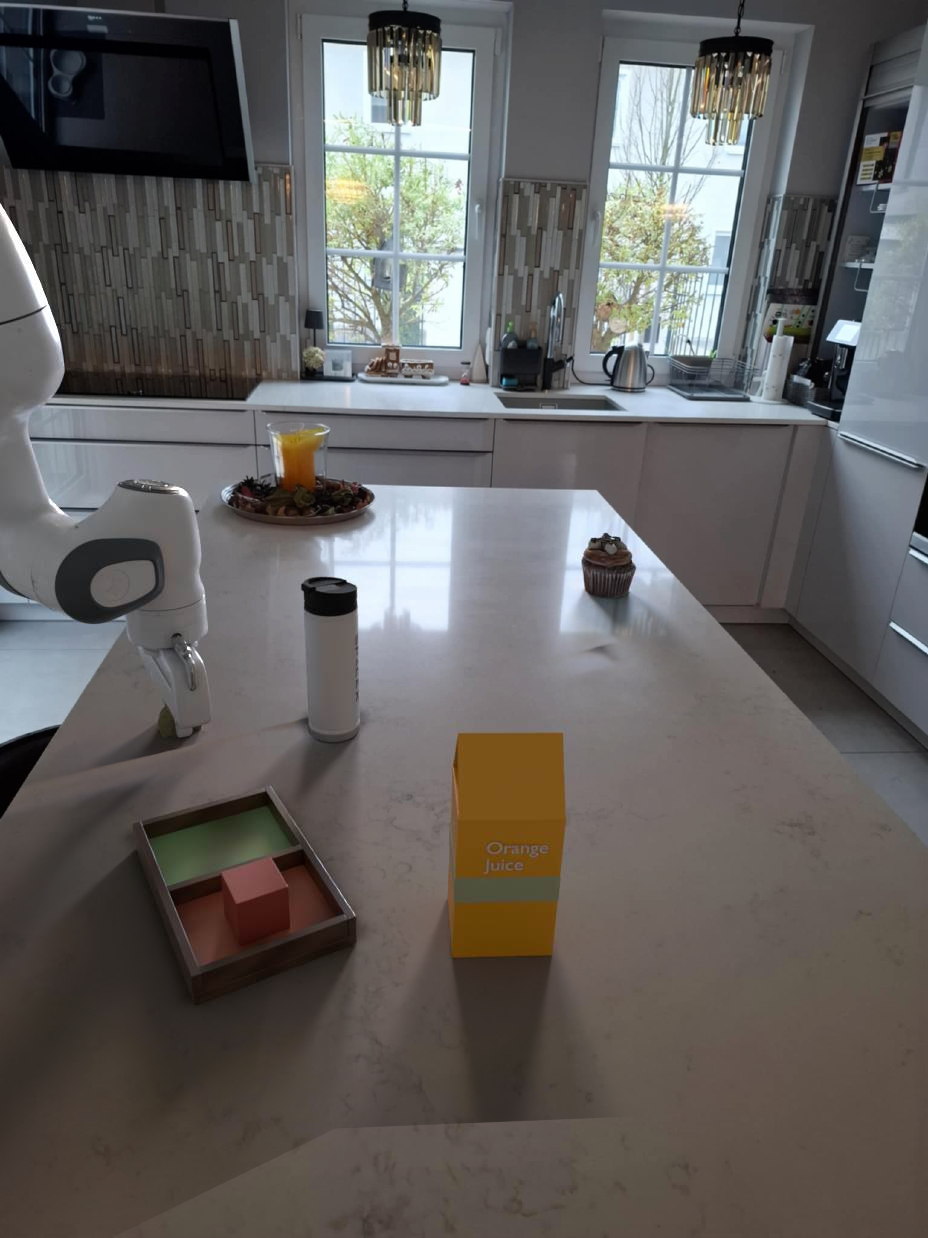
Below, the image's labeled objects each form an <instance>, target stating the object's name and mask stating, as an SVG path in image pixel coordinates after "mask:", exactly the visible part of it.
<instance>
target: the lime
mask: <svg viewBox="0 0 928 1238" xmlns="http://www.w3.org/2000/svg"><path fill="white" fill-rule="evenodd" d="M173 720H174V717H173V715H172V713H171V711H170V710H169V708H168V706H167V705H166V706H165V707H164V706H163V708H161V709H160V712H159V715H158V719H157V727H158V731H159V733H160V734H161V736H162V737H163V738H169V737H171V736H175V735H177V734H176V732H175V730H174V723H173ZM202 726H203V725H200V726H196V727H192V731H193V732H194V731H199V730H201V729H202Z"/></svg>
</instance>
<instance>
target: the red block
mask: <svg viewBox="0 0 928 1238" xmlns="http://www.w3.org/2000/svg"><path fill="white" fill-rule="evenodd" d="M221 883H222V894H223V904H224V913H225V915H226V918H227V920H228V922H229V924H230V926H231V928H232V930H233V933H234V935H235V937H236V939H237V941H238V943H239V945H240V946H241V945H244V944H247V943H249V942H252V941H255V940H258V939H260V938H263V937H266V936H269V935H272V934H274V933H277V932H280V931H283V930H286V929H288V928H290V911H289V893H288V886H287V884H286V882H285V881H284V879H283V877H282V876H281V874H280V872H279V870H278V869H277V867H276V865H275V863H274V862H273V860H272V858H271V857H268V858H265V859H262V860H259V861H256V862H252V863H249V864H246V865H243V866H240V867H237V868H233V869H230V870H227V871H224V872H221Z"/></svg>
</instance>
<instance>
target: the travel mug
mask: <svg viewBox="0 0 928 1238" xmlns="http://www.w3.org/2000/svg"><path fill="white" fill-rule="evenodd" d="M300 590H301V591H302V592H303V624H304V625H303V626H304V646H305V647H304V648H305V669H306V672H305V673H306V693H307V694H306V695H307V718H308V732H309V734H310V735H311V737H313V738H314V739H315V740H318V741H320V742H325V743H340V742H341V743H342V742H346V741H348V740H350V739H352V738H355V736H357V734H358V733H359V731H360V728H361V724H360V723H361V722H360V721H361V720H360V717H361V715H360V660H359V659H360V652H359V650H360V649H359V647H360V646H359V605H358V587H357V585H356V584H353V583H351V582H348V581H347V579H344V578H342V577H334V576H314V577H309V578H306V579H305V580H303V582H302V583H301V584H300Z"/></svg>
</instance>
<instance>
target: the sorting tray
mask: <svg viewBox="0 0 928 1238" xmlns="http://www.w3.org/2000/svg"><path fill="white" fill-rule="evenodd" d="M132 830H133V840H134V845H135V850H136V852H137V855H138V858H139V860H140V863H141V866H142V868H143V873H144V875H145V877H146V879H147V883H148V885H149V889H150V890H151V892H152V896H153V898H154V900H155V903H156V906H157V909H158V911H159V914H160V917H161V919H162V922H163V925H164V928H165V930H166V933H167V935H168V938H169V941H170V943H171V946H172V949H173V951H174V954H175V957H176V959H177V962H178V965H179V967H180V970H181V973H182V976H183V979H184V981H185V983H186V987H187V988H188V992H189V994H190V997H191V1000H192V1002H193V1005H194V1006H196V1005H199V1004H202V1003H204V1002H207V1001H209V1000H212V999H214V998H217V997H220V996H222V995H225V994H228V993H230V992H233V991H235V990H238V989H241V988H244V987H245V986H248V985H251V984H254V983H257V982H259V981H262V980H265V979H267V978H269V977H272V976H275V975H277V974H280V973H282V972H285V971H288V970H290V969H292V968H295V967H298V966H301V965H304V964H307V963H308V962H311V961H313V960H316V959H319V958H321V957H324V956H326V955H329V954H332V953H335V952H337V951H340V950H342V949H345V948H347V947H350V946H352V945H353V946H354V945H356V944H357V941H358V940H357V916H356V914H355V912H354V911H353V909H352V908H351V906H350V905H349V904H348V901H346V899H345V897H344V895H343V893H341V891H340V889H339V888H338V887H337V885H336V883H335V882H334V880H333V879H332V877H331V876H330V874H329V873H328V871H327V870H326V868H325V867H324V865H323V863H322V862H321V860H320V859H319V857H318V856H317V855H316V853H315V851H314V850H313V848H312V847H311V845H310V844H309V842H308V840H307V839H306V838H305V836H304V834H303V833H302V831H301V830H300V828H299V827H298V826H297V824H296V822H295V820H294V819H293V817H292V816H291V814H290V813H289V811H288V810H287V808H286V807H285V805H284V804H283V802H282V801H281V799H280V798H279V796H278V794H277V793H276V791H275V790H274V789H273V787H272V785H268V786H264V787H261V788H257V789H252V790H249V791H245V792H241V793H238V794H235V795H230V796H228V797H224V798H220V799H216V800H213V801H209V802H205V803H202V804H198V805H195V806H192V807H186V808H184V809H179V810H177V811H173V812H170V813H169V812H168V813H165V814H162V815H158V816H154V817H152V818H151V817H150V818H147V819H144V820H141V821H137V822H133V823H132ZM268 857H271V858H272V860H273V862H274V863H275V865H276V867H277V869H278V870H279V872H280V874H281V876H282V877H283V879H284V881H285V882H286V884H287V886H288V893H289V911H290V928H288V929H286V930H283V931H280V932H277V933H274V934H272V935H269V936H266V937H263V938H260V939H258V940H255V941H252V942H249V943H247V944H244V945H241V946H240V945H239V943H238V941H237V939H236V937H235V935H234V933H233V930H232V928H231V926H230V924H229V922H228V920H227V918H226V915H225V913H224V904H223V894H222V883H221V872H224V871H227V870H230V869H233V868H237V867H240V866H243V865H246V864H249V863H252V862H256V861H259V860H262V859H265V858H268Z"/></svg>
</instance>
